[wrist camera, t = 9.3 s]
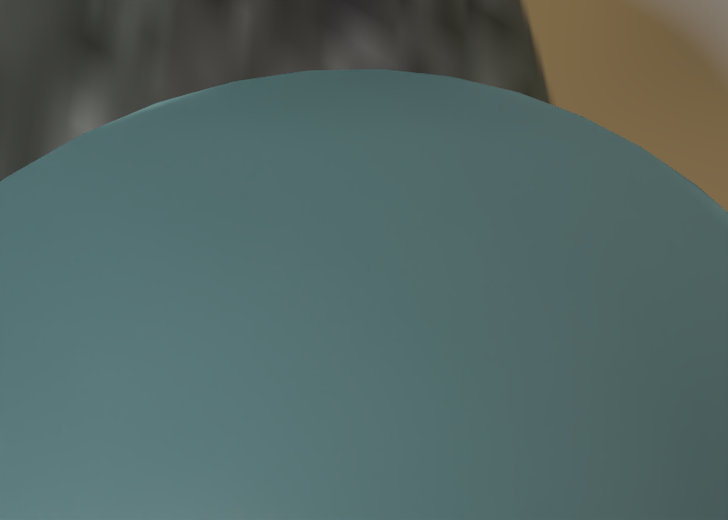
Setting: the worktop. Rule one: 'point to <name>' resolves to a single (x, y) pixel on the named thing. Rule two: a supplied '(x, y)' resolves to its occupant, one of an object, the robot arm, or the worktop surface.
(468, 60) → the worktop surface
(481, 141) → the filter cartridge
